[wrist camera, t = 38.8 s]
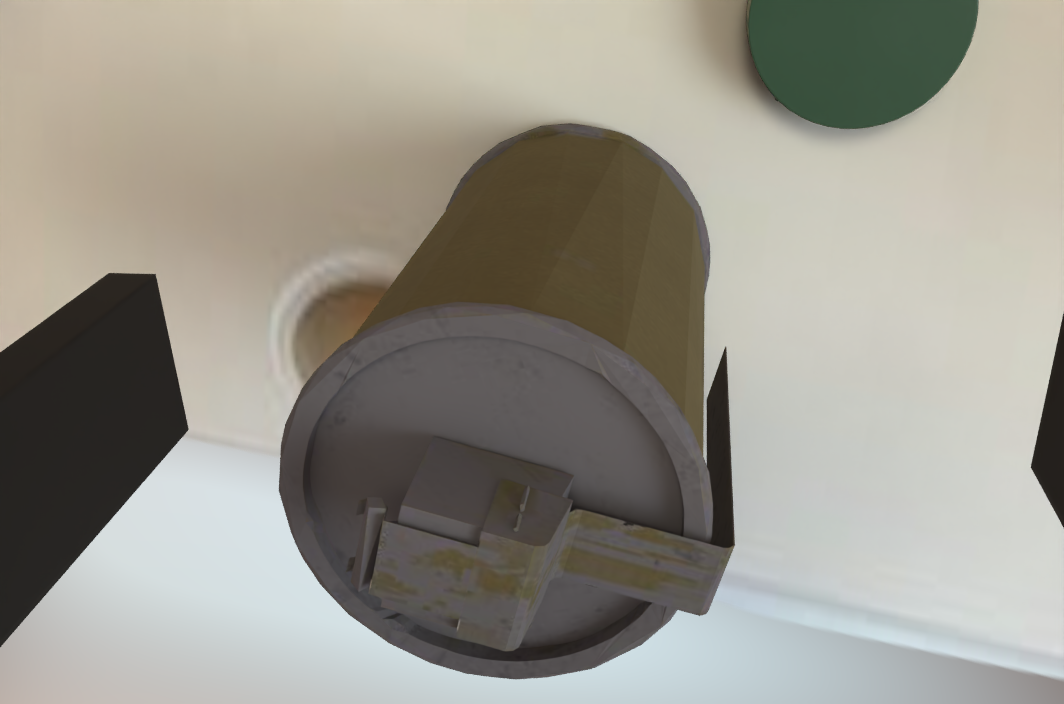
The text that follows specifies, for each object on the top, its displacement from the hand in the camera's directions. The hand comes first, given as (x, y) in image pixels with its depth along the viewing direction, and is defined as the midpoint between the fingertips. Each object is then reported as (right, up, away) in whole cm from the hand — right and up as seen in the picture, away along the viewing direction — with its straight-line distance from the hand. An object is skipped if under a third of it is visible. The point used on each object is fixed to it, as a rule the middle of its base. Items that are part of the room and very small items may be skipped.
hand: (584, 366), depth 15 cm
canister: (+1, +4, +25) cm, 25 cm away
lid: (+10, +11, +18) cm, 23 cm away
